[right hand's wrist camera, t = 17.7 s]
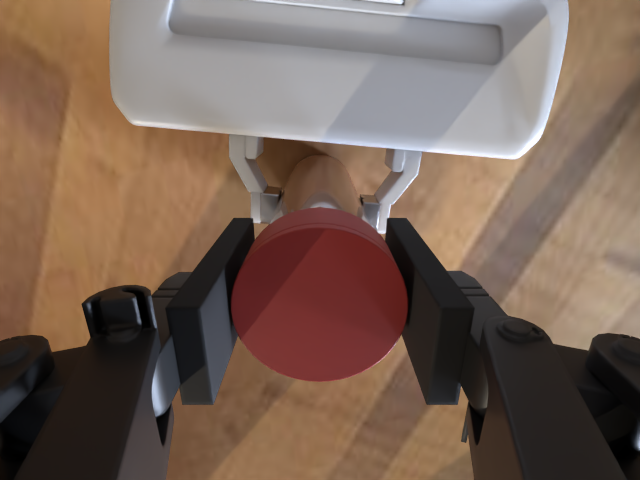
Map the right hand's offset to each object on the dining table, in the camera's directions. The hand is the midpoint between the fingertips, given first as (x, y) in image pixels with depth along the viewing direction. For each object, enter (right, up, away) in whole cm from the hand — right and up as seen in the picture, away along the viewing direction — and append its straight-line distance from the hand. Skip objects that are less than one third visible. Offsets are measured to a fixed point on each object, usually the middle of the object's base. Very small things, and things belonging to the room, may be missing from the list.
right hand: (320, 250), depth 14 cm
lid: (0, -1, -4) cm, 4 cm away
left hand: (0, +1, +6) cm, 6 cm away
